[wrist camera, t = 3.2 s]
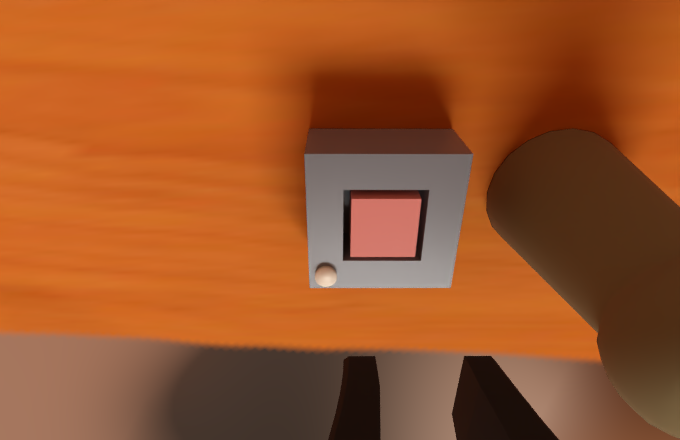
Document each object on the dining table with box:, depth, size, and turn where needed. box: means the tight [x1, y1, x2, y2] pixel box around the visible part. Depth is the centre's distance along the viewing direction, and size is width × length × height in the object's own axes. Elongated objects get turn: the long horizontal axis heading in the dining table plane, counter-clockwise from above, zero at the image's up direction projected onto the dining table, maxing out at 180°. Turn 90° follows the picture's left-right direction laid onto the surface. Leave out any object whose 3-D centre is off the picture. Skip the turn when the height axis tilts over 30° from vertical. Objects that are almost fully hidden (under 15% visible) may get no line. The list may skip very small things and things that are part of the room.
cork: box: [486, 129, 680, 439], centre depth 14 cm, size 6×6×11 cm
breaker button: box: [349, 190, 421, 257], centre depth 17 cm, size 3×3×2 cm
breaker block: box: [304, 129, 473, 288], centre depth 17 cm, size 6×6×3 cm
